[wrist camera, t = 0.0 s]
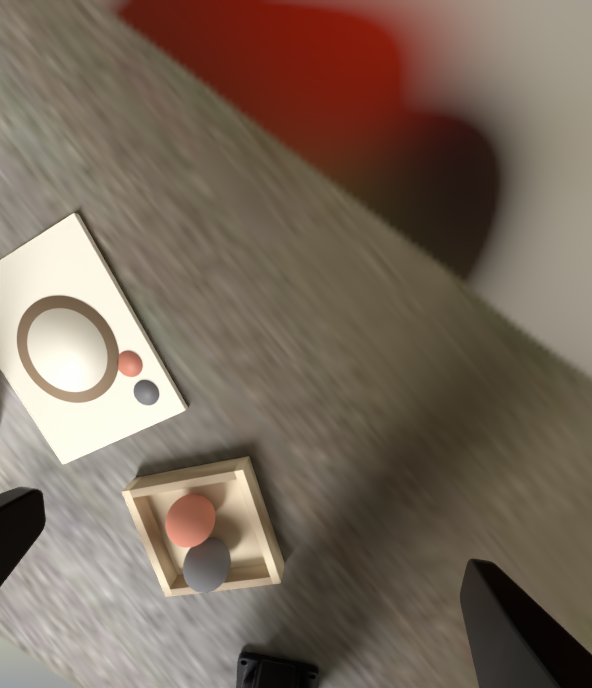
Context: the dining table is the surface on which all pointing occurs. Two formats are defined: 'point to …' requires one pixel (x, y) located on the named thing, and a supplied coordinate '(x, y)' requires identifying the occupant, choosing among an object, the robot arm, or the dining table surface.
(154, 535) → the masu tray
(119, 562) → the dining table surface
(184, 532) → the red ball
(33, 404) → the card
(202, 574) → the grey ball
